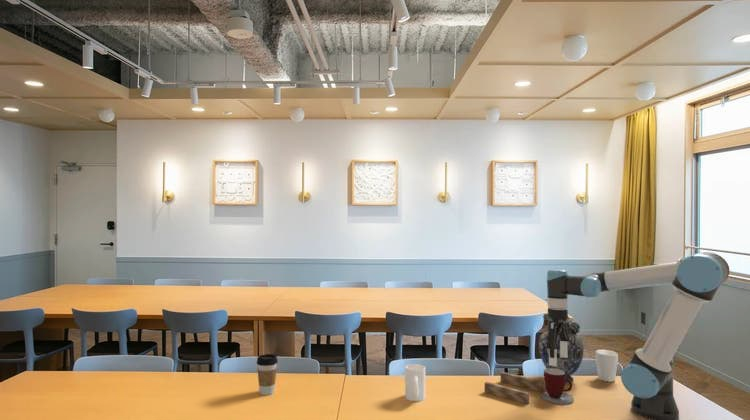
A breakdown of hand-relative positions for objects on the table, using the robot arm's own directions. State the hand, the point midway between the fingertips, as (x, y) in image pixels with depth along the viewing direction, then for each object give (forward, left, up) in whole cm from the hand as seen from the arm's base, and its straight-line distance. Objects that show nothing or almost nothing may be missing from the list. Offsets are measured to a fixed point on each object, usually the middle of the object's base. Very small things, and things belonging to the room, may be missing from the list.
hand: (558, 361), depth 180 cm
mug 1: (+43, +38, -15) cm, 60 cm away
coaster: (0, 0, -15) cm, 15 cm away
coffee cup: (+93, +72, -15) cm, 119 cm away
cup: (-10, -36, -15) cm, 40 cm away
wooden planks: (+16, +5, -15) cm, 23 cm away
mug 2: (0, 0, -15) cm, 15 cm away
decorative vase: (+6, -23, -15) cm, 28 cm away
